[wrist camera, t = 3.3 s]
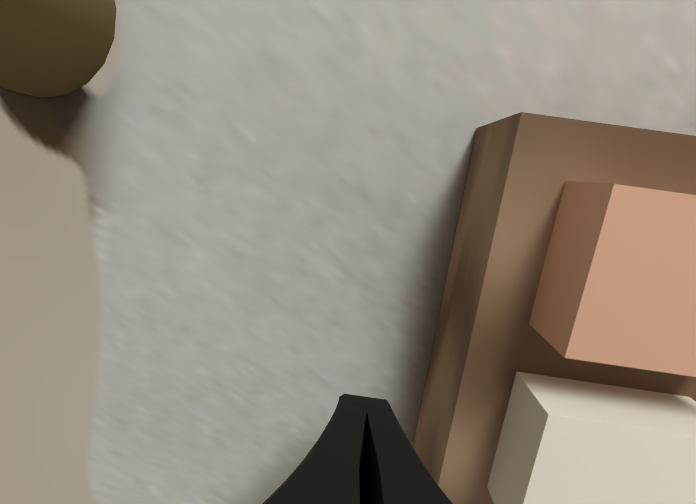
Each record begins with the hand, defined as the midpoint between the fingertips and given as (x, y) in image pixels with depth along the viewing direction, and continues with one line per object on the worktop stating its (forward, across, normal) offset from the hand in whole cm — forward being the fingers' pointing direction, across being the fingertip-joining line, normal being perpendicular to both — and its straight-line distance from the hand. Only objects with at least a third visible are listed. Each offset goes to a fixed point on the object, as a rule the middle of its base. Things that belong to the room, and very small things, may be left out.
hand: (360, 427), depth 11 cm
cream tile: (+1, -7, 0) cm, 7 cm away
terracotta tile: (+1, -7, -6) cm, 9 cm away
